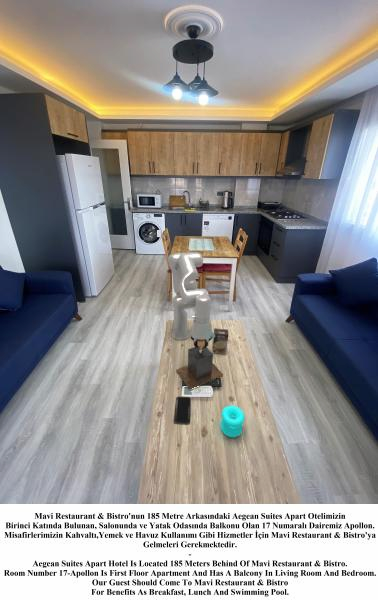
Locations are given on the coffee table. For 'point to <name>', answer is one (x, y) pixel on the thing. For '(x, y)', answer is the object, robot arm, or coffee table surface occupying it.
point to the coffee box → (220, 341)
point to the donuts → (232, 421)
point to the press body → (199, 368)
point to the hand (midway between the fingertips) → (200, 346)
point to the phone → (182, 410)
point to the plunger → (201, 344)
